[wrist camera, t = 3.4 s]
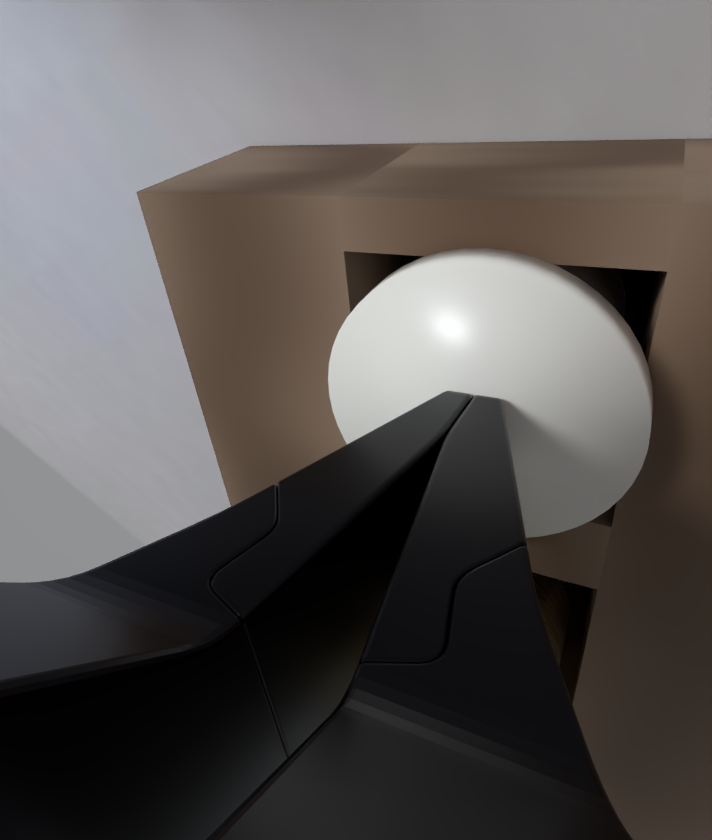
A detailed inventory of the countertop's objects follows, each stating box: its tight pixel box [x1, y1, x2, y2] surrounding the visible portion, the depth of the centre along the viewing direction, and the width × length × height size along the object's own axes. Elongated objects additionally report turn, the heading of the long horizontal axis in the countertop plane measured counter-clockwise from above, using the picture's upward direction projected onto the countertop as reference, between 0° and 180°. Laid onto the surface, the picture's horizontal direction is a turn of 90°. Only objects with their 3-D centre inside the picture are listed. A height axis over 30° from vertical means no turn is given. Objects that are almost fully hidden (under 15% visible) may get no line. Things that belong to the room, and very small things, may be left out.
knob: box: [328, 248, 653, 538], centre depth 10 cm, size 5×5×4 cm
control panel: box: [137, 139, 712, 840], centre depth 14 cm, size 12×18×4 cm, turn 6°
